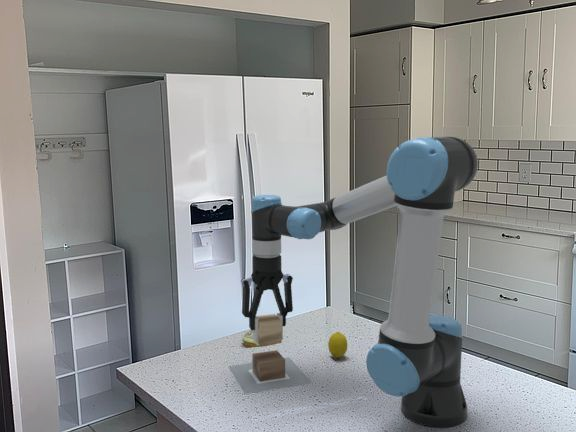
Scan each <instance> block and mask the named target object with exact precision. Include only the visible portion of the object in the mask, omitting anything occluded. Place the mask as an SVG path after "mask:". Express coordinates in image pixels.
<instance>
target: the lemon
mask: <svg viewBox="0 0 576 432" xmlns="http://www.w3.org/2000/svg"><path fill="white" fill-rule="evenodd" d="M347 340H348V339H347V338H346V335H344V333H341V332H339V331H336V332H334V333H332V335H330V337H329V340H328V350H329V353H330V354H331V355H332V356H333V357H335V358H336V359H340V358H341V357H343V356H344V355H345V354H346V353H347V350H348V341H347Z"/></svg>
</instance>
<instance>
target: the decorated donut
mask: <svg viewBox="0 0 576 432" xmlns="http://www.w3.org/2000/svg"><path fill="white" fill-rule="evenodd" d="M241 341H242V342H243V344H244V346H245V347H246V348H248V349H251V348H257V347H259V348H260V347H261V346H260V345H259V344H258V343H255V341H254V340H253V330H251V329H250V330H249V331H247V332H246V333H245V334H244V335H243V336H242V338H241ZM273 345H275V344H270V345H269V346H273ZM266 346H268V345H263V346H262V347H266Z"/></svg>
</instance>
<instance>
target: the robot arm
mask: <svg viewBox="0 0 576 432" xmlns="http://www.w3.org/2000/svg"><path fill="white" fill-rule="evenodd" d="M478 166H479V160H478V156H477V154H476V151H475V150H474V148H473V147H472V145H471V144H469V142H467V141H466V140H464V139H461V138H459V137H455V136H442V137H441V136H439V137H437V136H436V137H435V136H434V137H433V136H432V137H429V136H427V137H426V136H424V137H423V136H421V137H416V138H413V139H409V140H406V141H404V142H402V143H401V144H399V145H398V146H397V147H396V148H395V149H394V150H393V152H392V153H391V155H390V157H389V159H388V161H387V165H386V175H384V176H381V177H380V178H377V179H375V180H372V181H370V182H369V183H365V184H362V185H360V186H359V187H356V188H354V189H352V190H349V191H347V192H344V193H342V194H340V195H338V196H335V197H333V198H330V199H328V200H325V201H324V202H323V201H322V202H318V203H310V204H305V205H298V206H297V205H296V206H293V205H292V206H290V205H283V204H282V199H281V197H280V196H279V195H275V194H260V195H255V196H254V197H253V198H252V199H251V200H252V201H251V212H250V213H251V227H252V228H251V232H252V234H251V235H252V244H251V245H252V254H253V255H252V273H251V275H250V277H246V278H244V277H243V278H242V279H241V280H240V282H241V284H242V303H241V314H242V315H243V316H244V317H245V318H248V321H249V324H248V327H249V329H250V331H251V330H253V340H254V341H255V343H258V318H257V317H256V316H257V313H258V310H259V307H260V303H261V299H262V295H263V294H264V292H265V291H268V290H270V291H271V292H272V293H273V296H274V299H275V302H276V306H277V308H278V311H279V312H277V313H276V316H277V317H278V318H279V319H280V320H281V321H282V340H283V339H284V338H283V337H284V336H283V335H284V331H283V330H284V329H283V328H284V327H286V324H287V316H288V313H292V312H293V311H294V307H293V292H292V283H293V279H294V278H293V276H292V275H291V274H289V273H286V274H284V273H283V271H282V255H281V254H282V236H284V237H289V238H294V239H297V240H312V239H314V238H315V237H316V236H317V235H318V234H319V233H323V232H327V231H328V232H329V231H335V230H339V229H342V228H344V227H346V226H347V225H348V224H351V223H354V222H356V221H359V220H363V219H364V218H367V217H369V216H372V215H375V214H378V213H381V212H384V211H386V210H388V209H391V208H395V207H397V208H398V210H399V221H398V229H397V230H398V231H397V239H396V240H397V241H396V250H395V255H394V256H395V257H394V265H393V275H392V284H391V292H390V300H389V301H390V303H389V307H388V308H389V311H388V318H387V319H386V320H385V321H383V322H381V324H380V326H379V332H378V342H377V344H374V346H372V347H371V348H370V350H369V351H368V353H367V355H366V359H365V362H366V364H365V365H366V369H367V372H368V375H369V377H370V379H372V380H373V382H374V385H375V386H376V387H377V388H378V389H379V390H381V391H382V392H384V393H385V394H387V395H389V396H392V397H398V398H400V397H401V399H400V411H401V413H402V414H403V415H404V416H405V417H406V418H407V419H409V420H410V421H412V422H414V423H417V424H420V425H422V426H423V425H424V426H427V427H434V428H449V427H455V426H457V425H461V424H462V423H464V422H465V421H466V419H467V417H468V403H467V400H466V398H465V394H464V391H463V387H462V384H461V373H462V353H463V352H462V351H463V338H464V336H463V327H462V324H461V323H460V321H459V320H456V319H454V318H452V317H450V316H447V315H446V316H445V315H440V314H433V313H432V308H433V300H434V292H435V283H436V277H437V270H438V269H437V268H438V260H439V255H440V248H441V239H442V230H443V225H444V217H445V215H447V214H448V213H449V212H450V211H453V207H454V201H455V193H456V192H459V191H461V190H463V189H465V188H466V187H468V186H469V185H470V184H471V183H472V182H473V180H474V179H475V177H476V174H477V172H478V168H479V167H478ZM281 281H282V282H283V286H284V287H283V289H284V300H283V298H282V295H281V292H280V286H279V285H280V282H281ZM252 282H253V283H254V284H255V288H254V293H253V298H252V300H251V301H250V297H251V288H250V287H251V286H252ZM250 302H251V305H250Z"/></svg>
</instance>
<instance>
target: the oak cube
mask: <svg viewBox="0 0 576 432" xmlns="http://www.w3.org/2000/svg"><path fill="white" fill-rule="evenodd" d="M256 317H257V318H258V344H259V345H260V346H259V347H264V346H263V345H267V346H271V345H270V344H274V345H277V344H282V343H283V342H282V341H283V339H282V321H281V320H280V319H279V318H278V317H277V314H275V313H270V314H264V315H263V314H262V315H261V314H260V315H256Z"/></svg>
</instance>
